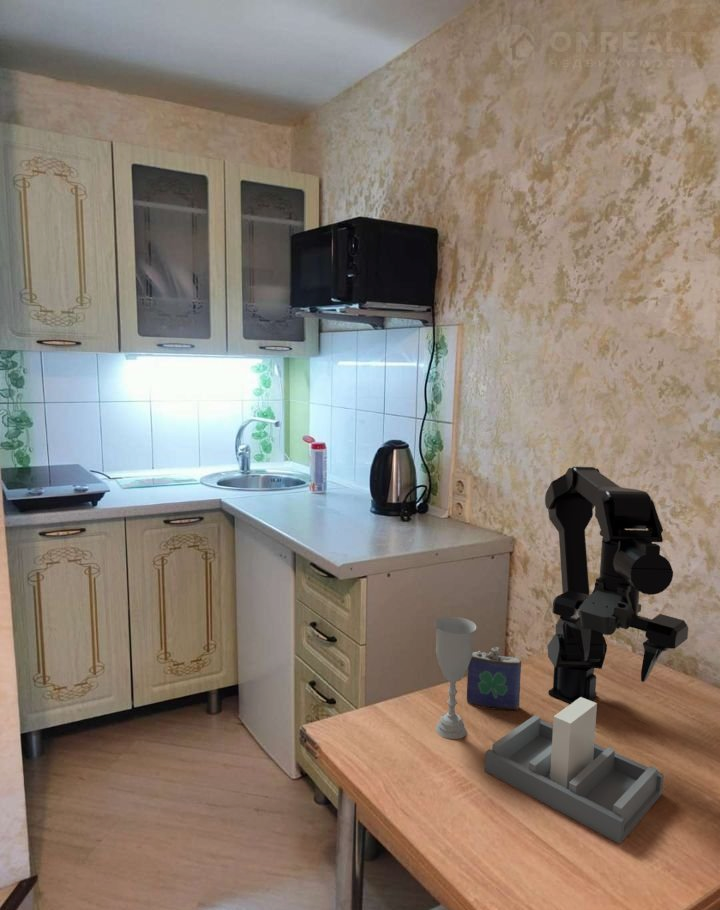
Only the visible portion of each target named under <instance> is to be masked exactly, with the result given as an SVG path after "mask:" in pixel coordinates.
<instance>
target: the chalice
mask: <svg viewBox="0 0 720 910" xmlns="http://www.w3.org/2000/svg"><path fill="white" fill-rule="evenodd" d="M433 625H434V628H435V630H436V637H435V638H436V639H435V640H436V641H435V646H436V647H435V653H436V654H435V655H436V657H437V662H438V665H439V667H440V670H441V672H442V674H443V676H444V678H445V680H447V681H449V686H448V687H449V688H448V689H447V693H448V694H449V698H448V699H447V701H446V703H447V705H448V711H447V712H445V713H443V714H442V715H441V716H440V718H439V720H438V722H437V725H436V726H435V732H436V733H437V734H438V735H439V736H441V737H442V738H445V739H450V740H459V739H462V738H464V737H465V736H466V734H467V729H466V727H465V724H464V721H463V718H462V717H461V716H460V715H459V714H457V713H456V712H455V708H456V705H457V704H458V701H457V699H456V696H457V693H458V690H457V687H456V683H457V682H460V681H461V680H462V678H463V677H464V675H465V674H466V672H467V671H468V666H469V663H470V661H471V658H472V652H474V651H473V646H474V634H475V631H476V630H477V624H476V623H475V622H474V621H472V620H470V619H467V618H464V617H460V616H442V617H438V618H436V619H435V620H434V622H433Z"/></svg>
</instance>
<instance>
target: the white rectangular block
mask: <svg viewBox="0 0 720 910" xmlns="http://www.w3.org/2000/svg"><path fill="white" fill-rule="evenodd" d="M597 709H598V702H595V701H592V700H587V699H585V698H582V697H580V698H578V699H577V700H576V701H574V702H573V703H570V704H569V705H567V706H566V707H565V708H563V709H562V710H560V711H559V712H558V713H556V714H554V716H553V720H552V725H553V735H552V752H551V769H550V780H551V781H553V782H555V783H557V784H559V785H561V786H563V787H565V788H567V789H569V782H570V781H571V780H572V779H573V778H575V777H576V776H577V775H578V774H579V773H580V772H581V771H582V770H583V769H585V768H586V767H587V766H588V765H589V764H590V763H591V762H592V761H593V755H594V744H595V742H596V741H595V739H596V727H597V726H596V725H597Z"/></svg>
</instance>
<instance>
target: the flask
mask: <svg viewBox="0 0 720 910" xmlns="http://www.w3.org/2000/svg"><path fill="white" fill-rule="evenodd" d="M499 653H500V647H497V646H495V647H491V651H489V652H487V653H486V652H484V651H483V652H482V651H481V650H478V651H472V658H471V661H470V663H469V666H468V668H467V676H466V677H467V681H466V683H467V684H466V703H467V704H469V705H470V704H471V706H474V707H479V708H484V709H494V710H497V711H498V710H499V711H507V712H512V711H514V712H515V711H518V710H519V708H520V700H521V699H520V698H521V697H520V693H521V677H522V676H521V674H522V660H521V659H519V658H518V657H515V656H503V655H500V654H499Z"/></svg>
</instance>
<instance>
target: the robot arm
mask: <svg viewBox="0 0 720 910" xmlns="http://www.w3.org/2000/svg"><path fill="white" fill-rule="evenodd" d="M544 503H545V507H546V508H545V509H547V512H548V518H549V519H548V520H549V521H550V523H552V525H553V526H554V528H555V529H556V531H557V532H558V542H559V556H560V557H559V558H560V574H561V588H562V589H561V590H562V593H561V594H559V595H557V596H555V597H554V599H553V600H552V611H551V613H552V614H554V615H557V616H559V619H558V620H557V622H556V624H555V634H554V635H553V637H552V638H551V640H550V641H549V643H548V644H547V657H548V659H549V660H550V661H549V662H551V663H552V665H553V680H552V681H553V682H552V688H551V689H549V690H548V694H549V695H550V696H553V697H555V698H557V699H560V700H562V701H565V702H567V703H570V704H571V703H573V702H574V701H576V700H577V699H578V698H580V697H582V698H585V699H587V700H590V701H592V699H594V698H595V697H596V696H597V691H596V688H597V687H596V686H597V676H596V674H595V669H599V670H602V669H603V665H604V662H605V658H606V654H607V650H608V643H607V642H606V639H605V636H611V635H613V634H614V633H615V632H616V630H619V629H620V628H621V629H624V630H629V628H633V629H636V630H639V631H644V632H645V634H644V635H645V638H646V640H645V641H643V642H642V645H643V649H644V651H643V657H642V658H643V659H642V665H641V671H640V681H641V682H642V683H645V682H646V681H647V680H648V678H649V676H650V674H651V672H652V670H653V669H654V666H655V664H656V662H657V660H659V657H660V656H661V654H662V653H663V652H665V651H667V650H670V649H672V650H673V649H674V650H675V649H677V648H678V647H679V646H680V645H682V644H683V643H684V642H685V641H687V640H688V634H689V627H688V624H687V623H686V621H685V619H680V618H677V617H674V616H670V615H666V614H662V613H659V614H658V615H656V616H655V617H653V618H648V617H644V616H640V615H638V614H639V613H640V612H641V611H642V604H641V603H639V602H640V601H639V600H640V593H641V594H644V595H648V596H652V595H658V594H660V593H662V592H664V591H665V590H667V589H668V587H669V586H670V585H671V583H672V581H673V578H674V570H673V567H672V564H671V563H670V562H669V559H667V558H666V557H665V556H663V555H661V546H660V544H657V543H663V540H664V539H663V535H662V533H663V532H664V529H663V526H662V523H661V520H660V518H659V517H660V516H659V514H658V512H657V509H656V506H655V502H654V501H653V499H652V498H651V496H650V494H649V493H648V492H647V491H644V490H641V489H636V488H627V487H622V486H620V485H618V484H616V483H615V482H614V481H612V480H611V479H609V478H608V477H607V476H605V475H604V474H602V473H601V472H600V470H599V468H596V467H594V466H572V467H569V468H567V470H566V472H565V474H563V475H561V476H560V477H557V478H556V479H555V480H553V481H551V482H550V485H549V486H548V488H547V490H546V492H545V498H544ZM593 513H594V515H593ZM593 516H594V517H595V518H596V521H597V522H598V526H599V529H600V531H599V536H601V537H602V538H601V549H600V566H599V568H600V569H599V577H597V578H596V579H595V582H594V588H593V590H592V592H591V594H590V583H589V569H588V557H587V556H588V555H587V543H586V540H587V539H586V529H587V526H589V523H590V522H591V521H592V518H593Z"/></svg>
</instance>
